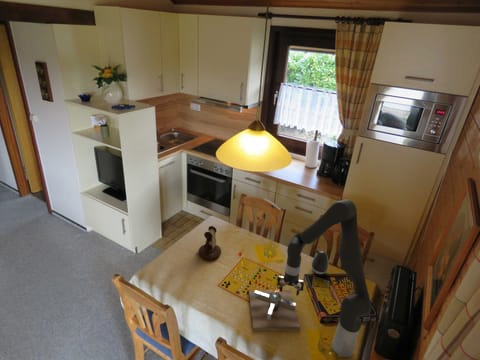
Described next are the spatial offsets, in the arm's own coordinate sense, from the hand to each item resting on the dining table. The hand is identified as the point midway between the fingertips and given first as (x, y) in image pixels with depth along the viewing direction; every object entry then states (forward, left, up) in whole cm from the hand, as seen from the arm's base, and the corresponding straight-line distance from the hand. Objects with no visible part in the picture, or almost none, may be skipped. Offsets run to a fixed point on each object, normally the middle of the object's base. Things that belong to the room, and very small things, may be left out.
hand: (289, 292), depth 168 cm
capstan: (-6, +9, -4) cm, 12 cm away
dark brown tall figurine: (+39, +44, -6) cm, 59 cm away
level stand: (-6, +9, -6) cm, 13 cm away
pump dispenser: (+24, -25, -6) cm, 35 cm away
